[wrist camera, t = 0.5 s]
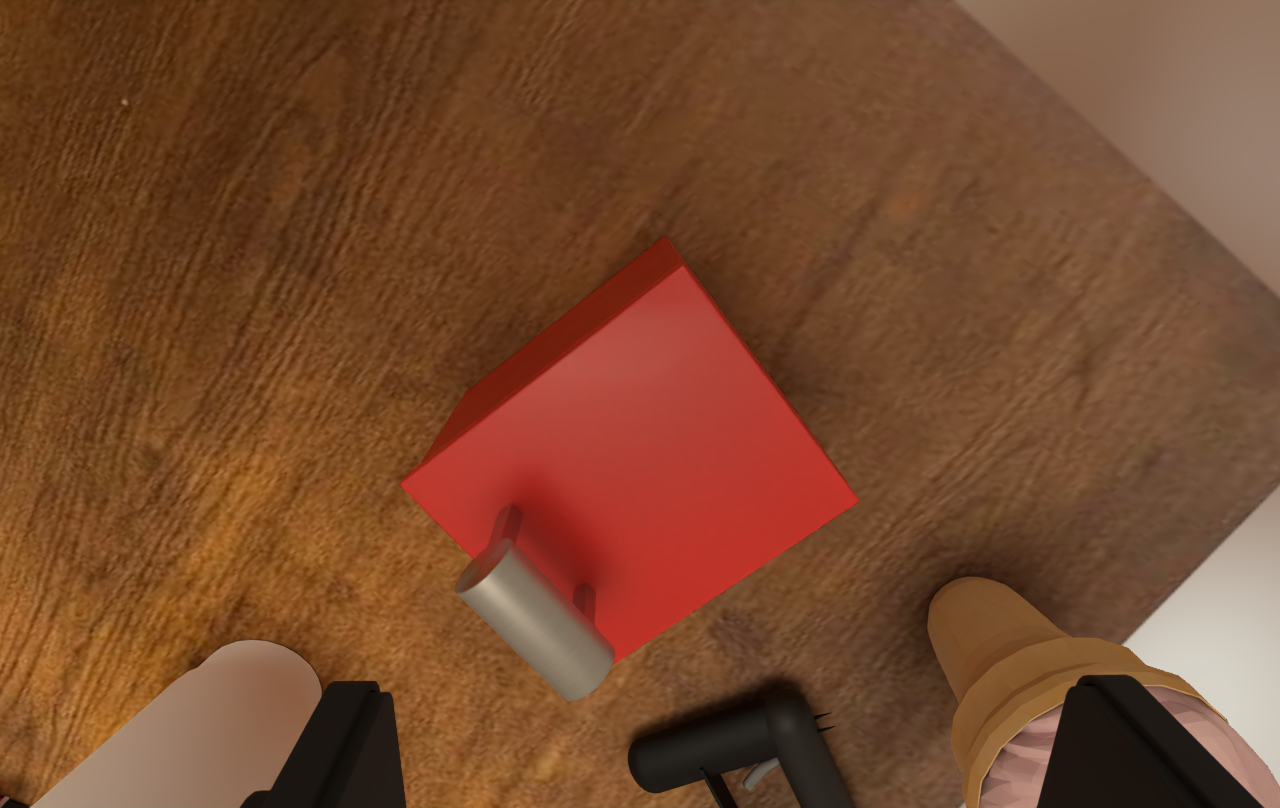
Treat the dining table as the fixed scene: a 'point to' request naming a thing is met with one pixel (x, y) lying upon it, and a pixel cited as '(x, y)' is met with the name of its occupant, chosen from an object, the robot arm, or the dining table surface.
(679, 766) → the toy submachine gun
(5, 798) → the figurine
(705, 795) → the dining table surface
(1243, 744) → the ice cream cone
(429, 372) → the dining table surface
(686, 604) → the lid
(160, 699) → the cup
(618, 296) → the red tapered bin
